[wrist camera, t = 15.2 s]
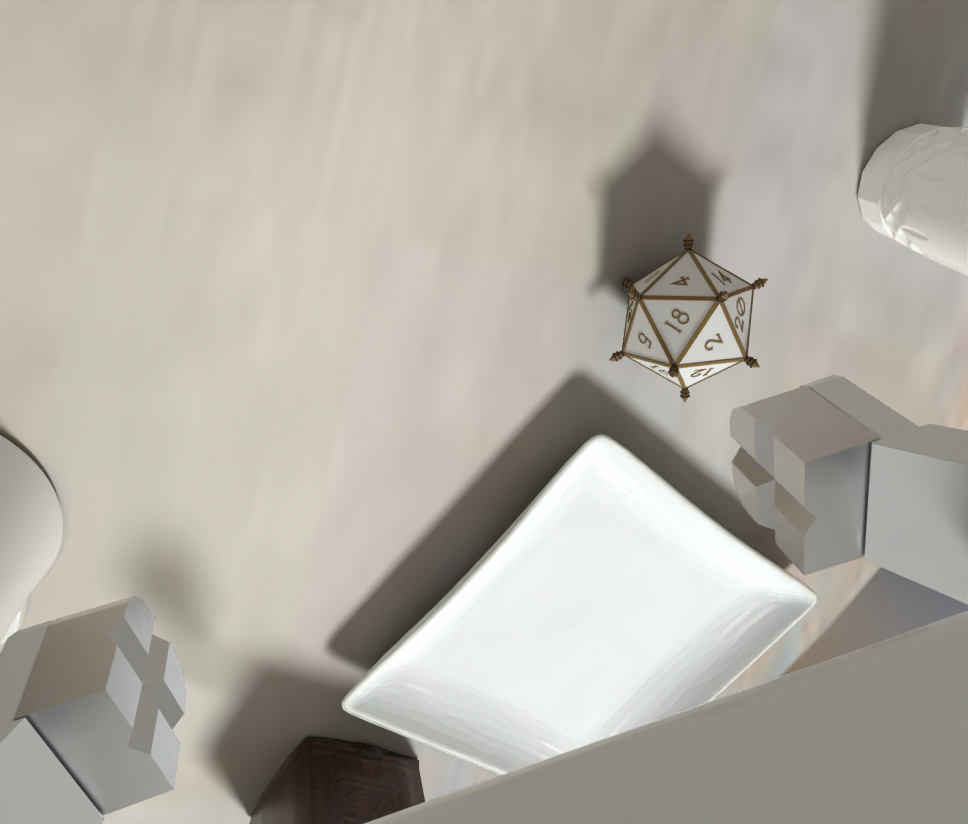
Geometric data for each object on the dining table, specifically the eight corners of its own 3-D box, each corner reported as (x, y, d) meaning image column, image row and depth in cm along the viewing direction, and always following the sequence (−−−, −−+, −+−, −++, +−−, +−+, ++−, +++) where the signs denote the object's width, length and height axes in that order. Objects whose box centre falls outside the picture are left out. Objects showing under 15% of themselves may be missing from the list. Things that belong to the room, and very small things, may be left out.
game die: (624, 253, 51) (691, 184, 41) (735, 317, 51) (826, 263, 42) (566, 369, 49) (622, 325, 39) (682, 434, 49) (765, 406, 39)
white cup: (824, 197, 48) (943, 240, 39) (917, 85, 46) (1063, 105, 37) (893, 264, 51) (1016, 317, 43) (982, 163, 49) (1130, 197, 41)
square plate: (330, 672, 57) (334, 714, 54) (581, 403, 51) (602, 431, 48) (575, 778, 70) (590, 817, 66) (799, 571, 64) (828, 603, 60)
